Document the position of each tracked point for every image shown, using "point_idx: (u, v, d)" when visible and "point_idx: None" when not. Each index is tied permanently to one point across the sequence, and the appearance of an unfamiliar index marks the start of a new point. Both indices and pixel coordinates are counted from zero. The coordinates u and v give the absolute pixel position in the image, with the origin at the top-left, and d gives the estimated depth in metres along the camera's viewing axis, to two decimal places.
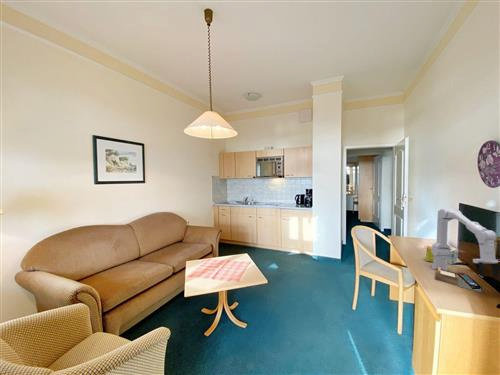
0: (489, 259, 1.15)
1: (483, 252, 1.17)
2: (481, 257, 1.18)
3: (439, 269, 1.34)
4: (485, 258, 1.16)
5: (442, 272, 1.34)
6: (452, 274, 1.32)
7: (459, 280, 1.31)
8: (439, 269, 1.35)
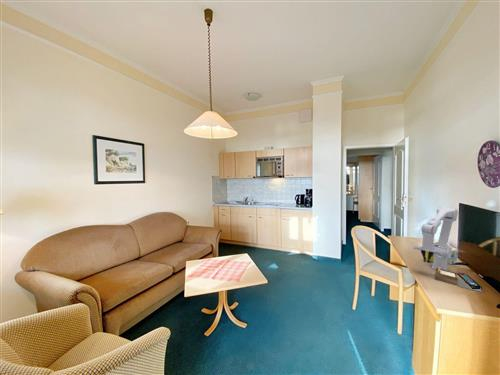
0: (424, 248, 1.38)
1: (422, 242, 1.40)
2: None
3: (439, 269, 1.34)
4: (422, 246, 1.39)
5: (442, 272, 1.34)
6: (452, 274, 1.32)
7: (459, 280, 1.31)
8: (439, 269, 1.35)
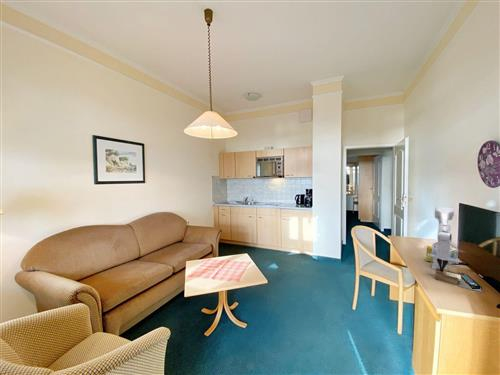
0: (439, 256, 1.33)
1: (437, 250, 1.35)
2: None
3: (444, 270, 1.33)
4: (437, 255, 1.34)
5: (448, 273, 1.32)
6: (458, 275, 1.30)
7: (459, 280, 1.31)
8: (444, 270, 1.33)
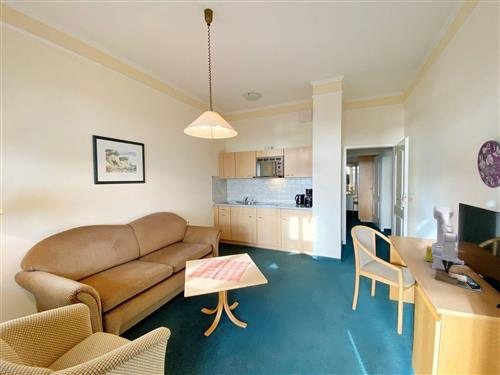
0: (444, 257, 1.31)
1: (442, 251, 1.33)
2: None
3: (450, 272, 1.31)
4: (442, 256, 1.33)
5: (453, 275, 1.31)
6: (463, 277, 1.28)
7: (459, 280, 1.31)
8: (449, 271, 1.31)
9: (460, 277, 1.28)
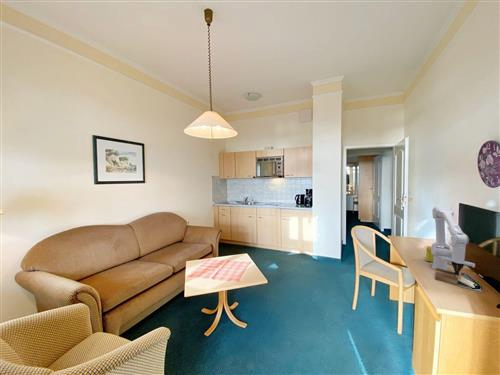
0: (454, 259, 1.28)
1: (452, 252, 1.30)
2: None
3: (460, 275, 1.28)
4: (452, 258, 1.30)
5: (461, 278, 1.28)
6: (471, 283, 1.26)
7: None
8: (459, 274, 1.28)
9: (468, 282, 1.26)
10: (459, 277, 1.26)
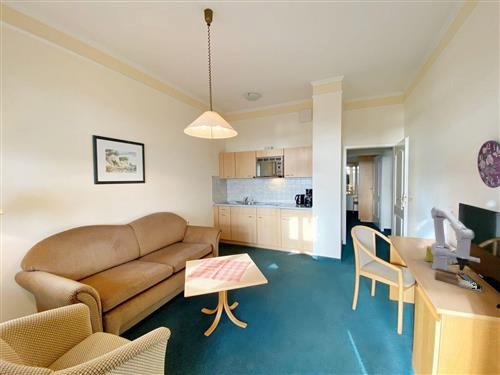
0: (459, 254, 1.27)
1: None
2: None
3: (459, 278, 1.28)
4: (457, 253, 1.28)
5: (462, 281, 1.28)
6: None
7: None
8: (458, 278, 1.29)
9: (470, 284, 1.25)
10: (459, 281, 1.27)
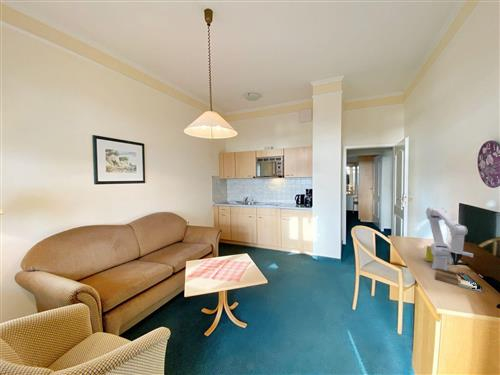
0: (453, 250, 1.32)
1: (451, 243, 1.34)
2: None
3: (459, 278, 1.28)
4: (451, 248, 1.34)
5: (462, 281, 1.28)
6: None
7: None
8: (458, 278, 1.29)
9: (470, 284, 1.25)
10: (459, 281, 1.27)
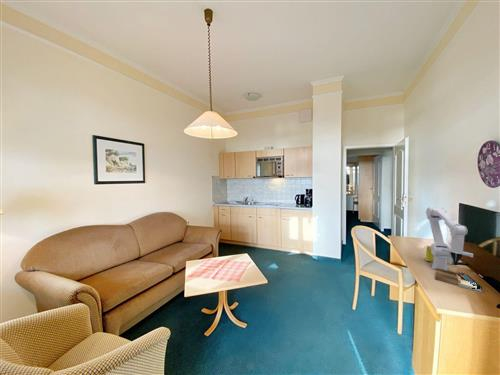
0: (453, 250, 1.32)
1: (451, 243, 1.34)
2: None
3: (459, 278, 1.28)
4: (451, 248, 1.34)
5: (462, 281, 1.28)
6: None
7: None
8: (458, 278, 1.29)
9: (470, 284, 1.25)
10: (459, 281, 1.27)
